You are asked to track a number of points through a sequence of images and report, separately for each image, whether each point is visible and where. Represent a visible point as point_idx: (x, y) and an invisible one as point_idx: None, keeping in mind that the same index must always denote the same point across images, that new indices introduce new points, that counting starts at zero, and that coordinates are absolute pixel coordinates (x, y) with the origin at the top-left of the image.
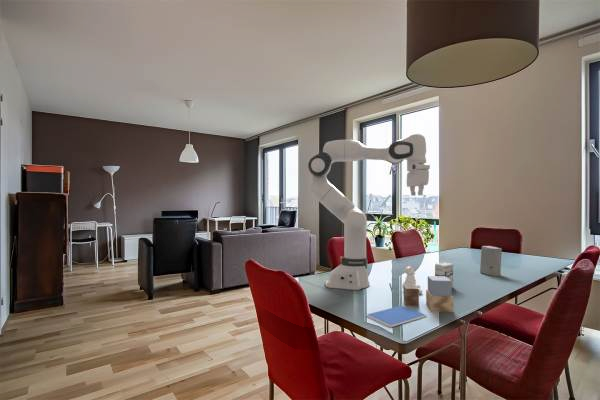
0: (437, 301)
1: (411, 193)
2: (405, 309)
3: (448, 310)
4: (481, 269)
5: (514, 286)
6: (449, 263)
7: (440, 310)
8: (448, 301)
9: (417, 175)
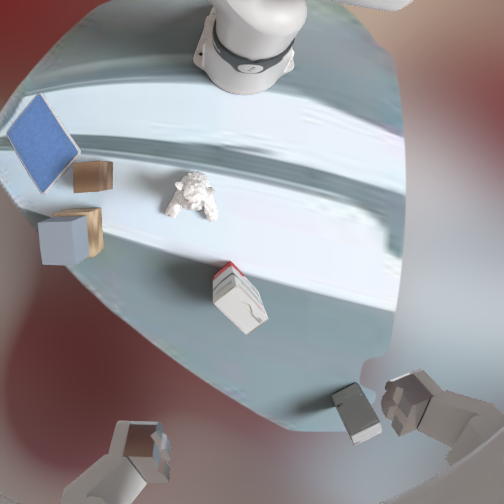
0: None
1: (420, 386)
2: (60, 159)
3: None
4: (356, 388)
5: (256, 406)
6: (251, 327)
7: None
8: None
9: None
